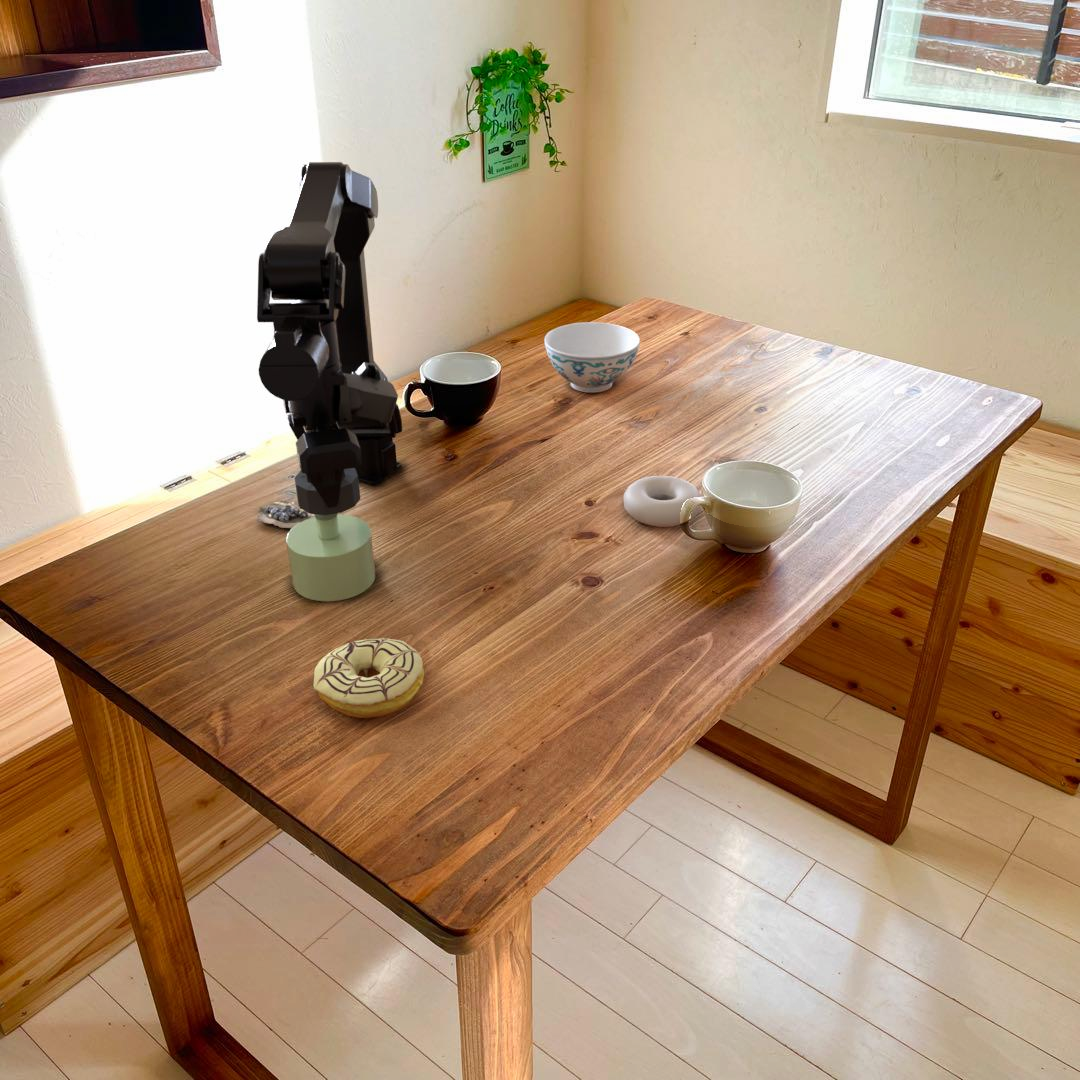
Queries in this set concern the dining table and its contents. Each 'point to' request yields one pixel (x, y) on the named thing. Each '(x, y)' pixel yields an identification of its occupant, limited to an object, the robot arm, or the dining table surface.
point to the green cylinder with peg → (331, 557)
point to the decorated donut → (369, 677)
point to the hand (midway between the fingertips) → (328, 492)
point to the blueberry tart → (283, 514)
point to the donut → (659, 500)
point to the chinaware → (591, 353)
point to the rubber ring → (313, 501)
